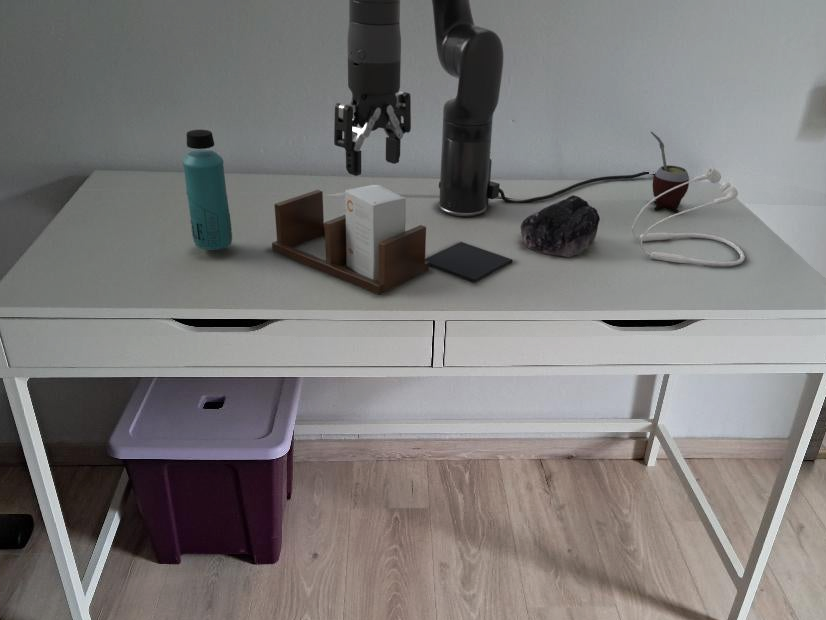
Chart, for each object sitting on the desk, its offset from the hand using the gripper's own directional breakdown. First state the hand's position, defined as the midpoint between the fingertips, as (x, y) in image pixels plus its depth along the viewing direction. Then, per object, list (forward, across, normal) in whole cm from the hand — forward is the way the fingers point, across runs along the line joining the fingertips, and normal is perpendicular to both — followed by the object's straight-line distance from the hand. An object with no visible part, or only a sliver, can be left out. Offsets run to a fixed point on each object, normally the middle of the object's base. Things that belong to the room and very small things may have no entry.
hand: (373, 168), depth 121 cm
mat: (+17, -13, +9) cm, 23 cm away
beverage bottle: (+17, +13, -24) cm, 33 cm away
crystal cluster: (+17, -31, +16) cm, 39 cm away
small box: (+17, 0, 0) cm, 17 cm away
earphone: (+17, -46, +35) cm, 60 cm away
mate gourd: (+17, -63, +22) cm, 69 cm away
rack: (+17, 0, -6) cm, 18 cm away
